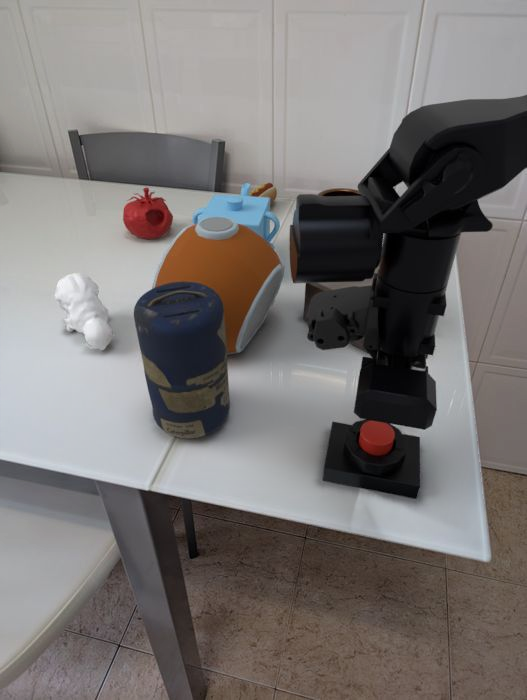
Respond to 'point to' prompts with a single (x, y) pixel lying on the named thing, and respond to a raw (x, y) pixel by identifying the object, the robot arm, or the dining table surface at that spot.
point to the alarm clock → (227, 272)
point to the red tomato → (147, 216)
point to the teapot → (242, 212)
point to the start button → (376, 438)
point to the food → (265, 192)
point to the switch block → (373, 462)
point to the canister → (184, 357)
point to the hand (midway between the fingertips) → (383, 408)
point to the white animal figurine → (84, 309)
